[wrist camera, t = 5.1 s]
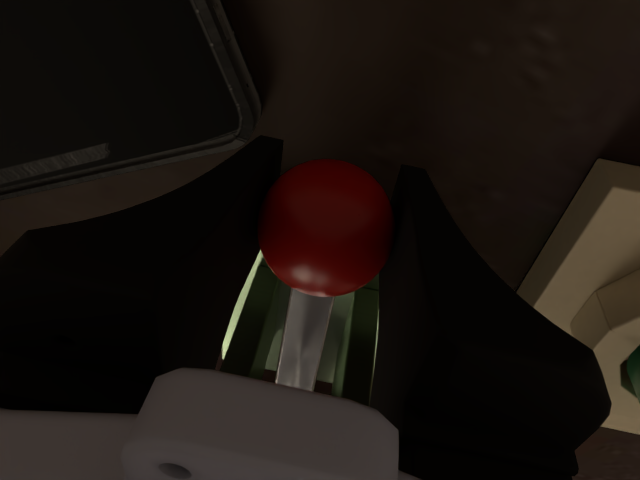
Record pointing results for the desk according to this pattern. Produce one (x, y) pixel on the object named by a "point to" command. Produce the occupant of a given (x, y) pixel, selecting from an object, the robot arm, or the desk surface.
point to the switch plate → (597, 279)
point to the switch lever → (321, 251)
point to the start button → (634, 370)
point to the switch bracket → (268, 323)
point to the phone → (116, 88)
